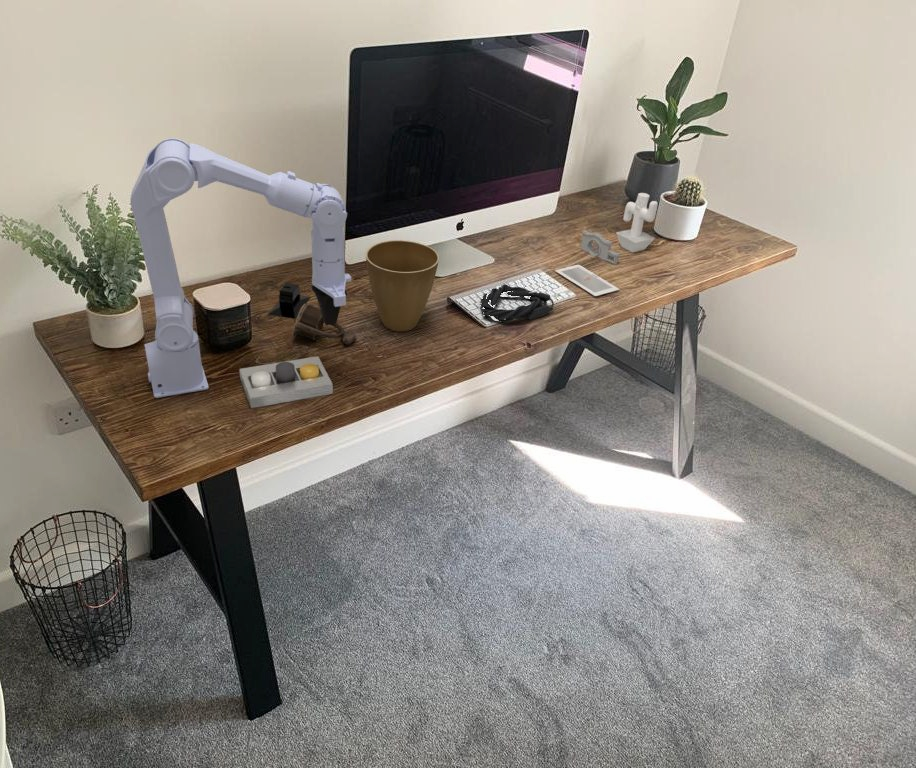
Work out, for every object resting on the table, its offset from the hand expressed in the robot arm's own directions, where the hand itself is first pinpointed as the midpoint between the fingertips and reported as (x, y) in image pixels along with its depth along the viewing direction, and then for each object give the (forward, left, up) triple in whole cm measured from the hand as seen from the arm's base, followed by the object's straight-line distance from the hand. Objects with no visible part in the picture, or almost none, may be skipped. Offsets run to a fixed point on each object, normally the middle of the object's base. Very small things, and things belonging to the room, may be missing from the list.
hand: (330, 322), depth 150 cm
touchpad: (+69, +19, -11) cm, 72 cm away
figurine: (+92, +33, -11) cm, 98 cm away
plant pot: (+19, +13, -11) cm, 25 cm away
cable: (+45, +12, -11) cm, 48 cm away
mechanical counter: (+1, +11, -11) cm, 16 cm away
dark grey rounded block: (-9, -3, -9) cm, 13 cm away
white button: (-14, -3, -10) cm, 18 cm away
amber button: (-5, -3, -10) cm, 12 cm away
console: (-10, -3, -10) cm, 14 cm away
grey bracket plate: (+80, +31, -11) cm, 86 cm away
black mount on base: (-1, +27, -11) cm, 30 cm away
